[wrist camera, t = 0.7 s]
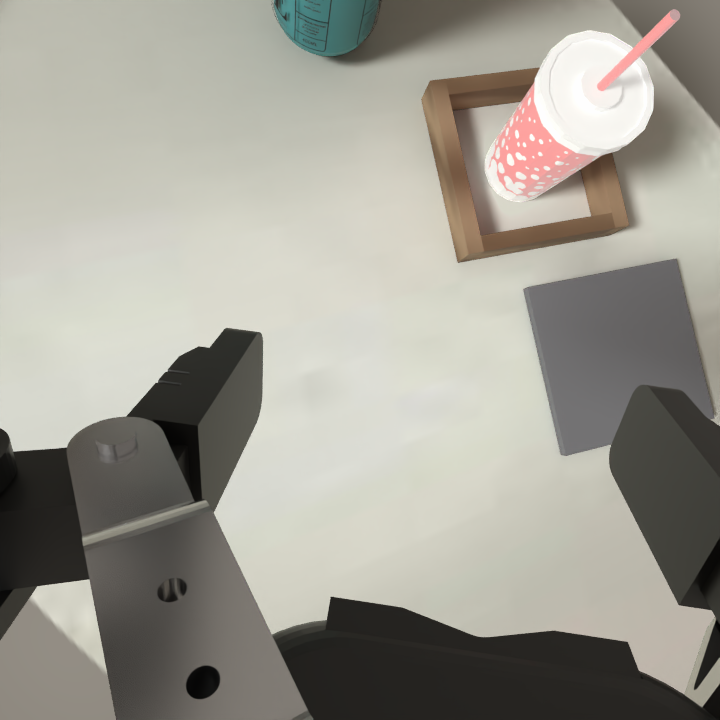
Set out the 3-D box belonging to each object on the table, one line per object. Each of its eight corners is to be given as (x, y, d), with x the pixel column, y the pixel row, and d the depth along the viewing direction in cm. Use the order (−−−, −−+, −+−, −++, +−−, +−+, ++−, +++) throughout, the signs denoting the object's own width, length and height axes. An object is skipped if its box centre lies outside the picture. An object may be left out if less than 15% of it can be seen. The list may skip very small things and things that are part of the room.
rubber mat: (523, 289, 34) (527, 287, 33) (669, 260, 36) (676, 258, 35) (561, 454, 33) (566, 455, 33) (707, 417, 35) (714, 418, 34)
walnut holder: (421, 99, 34) (430, 80, 32) (573, 80, 35) (590, 61, 33) (457, 262, 33) (468, 254, 31) (609, 235, 35) (629, 225, 33)
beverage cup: (502, 229, 34) (654, 114, 20) (456, 147, 34) (576, -25, 20) (576, 188, 35) (768, 51, 21) (531, 109, 35) (695, -80, 21)
